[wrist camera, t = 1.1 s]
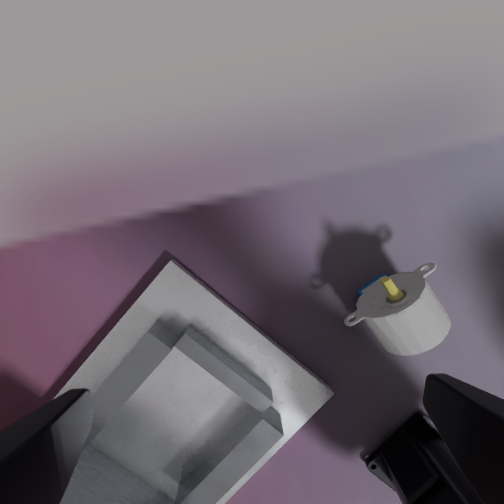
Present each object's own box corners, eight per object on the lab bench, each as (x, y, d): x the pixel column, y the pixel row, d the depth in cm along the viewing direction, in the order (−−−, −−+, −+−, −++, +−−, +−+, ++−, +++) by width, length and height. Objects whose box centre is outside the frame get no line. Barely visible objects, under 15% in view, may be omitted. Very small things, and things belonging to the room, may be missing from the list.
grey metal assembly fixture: (331, 387, 22) (376, 483, 14) (159, 559, 25) (120, 720, 17) (173, 258, 20) (128, 290, 12) (3, 459, 23) (-122, 590, 15)
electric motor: (397, 237, 20) (446, 248, 15) (430, 288, 21) (487, 313, 16) (320, 292, 21) (343, 318, 16) (354, 339, 22) (386, 379, 17)
